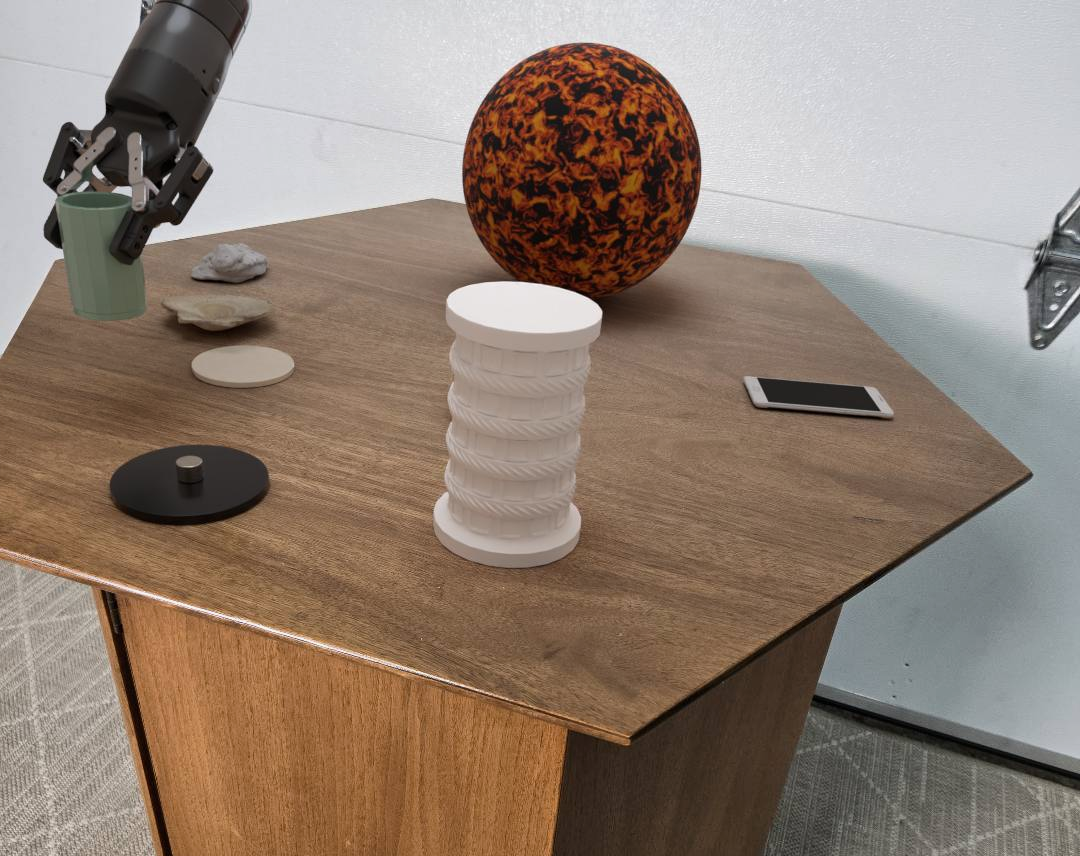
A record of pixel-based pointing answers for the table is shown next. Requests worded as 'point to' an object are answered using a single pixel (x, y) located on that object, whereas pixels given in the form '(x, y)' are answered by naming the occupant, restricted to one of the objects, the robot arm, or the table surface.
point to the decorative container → (515, 422)
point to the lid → (189, 484)
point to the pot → (99, 257)
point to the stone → (230, 264)
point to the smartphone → (817, 397)
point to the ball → (582, 169)
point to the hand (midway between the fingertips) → (86, 251)
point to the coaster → (243, 366)
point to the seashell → (216, 310)
